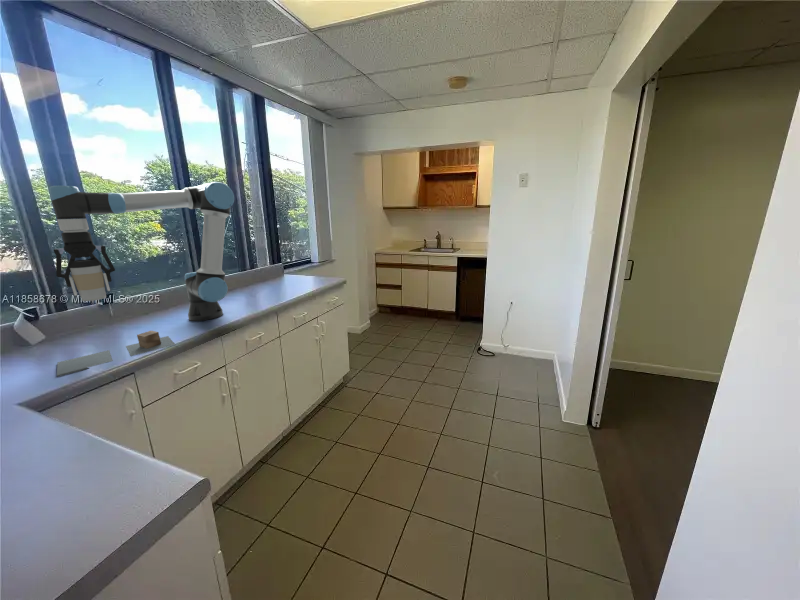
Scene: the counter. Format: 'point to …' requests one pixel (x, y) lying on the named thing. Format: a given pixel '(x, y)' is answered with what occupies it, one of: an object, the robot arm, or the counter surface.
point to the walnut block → (149, 339)
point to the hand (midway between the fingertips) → (92, 292)
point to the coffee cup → (88, 279)
